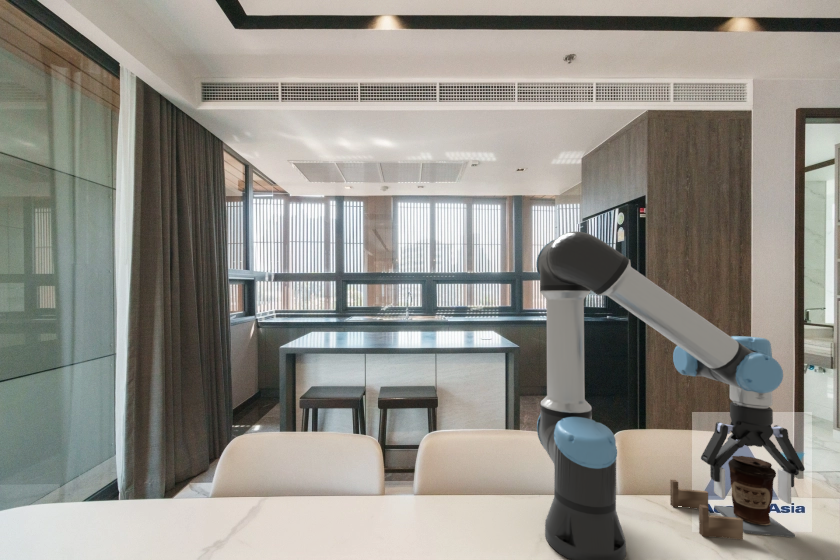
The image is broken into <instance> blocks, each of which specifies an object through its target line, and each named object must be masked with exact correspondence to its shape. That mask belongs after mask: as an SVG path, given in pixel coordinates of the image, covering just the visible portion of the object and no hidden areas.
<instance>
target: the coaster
mask: <svg viewBox="0 0 840 560" xmlns="http://www.w3.org/2000/svg"><path fill="white" fill-rule="evenodd" d="M713 507H714V509H715V510H716V511H717V512H718V513H720V514H721V516H723V517H735V518H739V517H737V516H736V515H735V514H734V508H733V506H725V505H716V504H715V505H714V506H713ZM769 519H770V525H759V524H754V523H751V522H748V521H745V520H743V519H742V520H743V534H754V535H755V534H756V535H763V536H765V535H767V536H775V537H776V536H777V537H787V538H796V534H795V533H794V532H792V531H791V530H790V529H788V528H786V527H785V526H784V525H782V524H781V523H779V522H778V521H777V520H775V519H774V518H773V517H771V516H770V518H769Z"/></svg>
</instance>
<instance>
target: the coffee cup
mask: <svg viewBox="0 0 840 560" xmlns="http://www.w3.org/2000/svg"><path fill="white" fill-rule="evenodd" d="M727 464H728V468H729V479H730V488H731V500H732V505H733V506H732V507H733V508H734V514H735V515H736V516H737V517H739V518H741V519H743V520H745V521H748V522H751V523H754V524H759V525H770V519H769V518H770V517H771V516H770V512H771V504H772V502H773V497H774V480H775V478H776V477H777V472H776V470H775V468H773V467H772V466H773V464H772V463H771V462H769V461H766V460H763V459H759V458H756V457H752V456H744V455H732V456H731V459H729V461H728V463H727Z"/></svg>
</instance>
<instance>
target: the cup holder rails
mask: <svg viewBox="0 0 840 560" xmlns="http://www.w3.org/2000/svg"><path fill="white" fill-rule="evenodd" d="M669 481H670V485H669V486H670V489H669V490H670V493H669V494H670V502H669V503H670V506H671V505H672V506H673V507H672V508H677V507H678V506H682V507H690V508H689V509H694V508H697V509H696V510H698V523H699V525H698V530H699V531H698V534H700V535H701V536H702V537H704V538H705V537H706V538H710V537H711V538H721V539H731V540H733V539H734V540H744V532H743V520H742V519H741V518H735V517H725V516H723V515H709V514H710V512H709V509H710V508H709V492H708V491H707V490H697V489H686V488H685V489H684V488H679V481H678V480H676V479H670V480H669ZM682 507H681V508H682ZM678 508H679V507H678Z"/></svg>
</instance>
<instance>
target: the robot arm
mask: <svg viewBox="0 0 840 560" xmlns="http://www.w3.org/2000/svg"><path fill="white" fill-rule="evenodd" d="M536 258H537V259H536V264H535V268H536V272H537V274H538V276H539V292H540V294H541V295H542V296H543V297H544V298H545V300H546V395H545V397H544V398H543V399H542V400H541V401H540V413H539V416H538V418H537V422H536V431H537V432H536V433H537V437H538V439H539V441H540V444H541V446H542V447H543V449H544V450H545V452H546V453H547V455H548V456H549V459H550V460H551V461H552V463H553V465H554V466H553V467H554V475H553V476H554V477H553V479H554V485H553V486H554V487H553V488H554V489H553V490H554V491H553V492H554V495H553V499H552V501H551V502H552V503H551V505H550V508H549V510H548V512H547V515H546V519H545V523H544V528H545V529H544V535H545V536H544V537H545V539H546V541H547V543H548V544H549V545H550V546H551V548H552V549H553V550H555V552H557V553H558V554H560V555H562V556H563V557H565V558H567V559H568V560H625V559H626V555H627V544H626V538H625V534H624V531H623V527H622V525H621V522H620V518H619V516H618V515H619V514H618V512H617V504H616V503H617V457H618V449H617V444H616V443H617V442H616V437H615V434H614V433H613V432H612V430H611V429H610V428H609V427H608V426H606V425H605V424H604V423H602V422H597V421H596V420H594V419H592V417H593V411H592V410H593V409H592V405H591V404H590V403H588V401H587V400H586V399H585V395H586V394H585V393H586V392H585V386H586V385H585V313H584V312H585V307H584V306H585V303H584V301H585V299H586V297H587V296H588V295H589V294H590V293H591V292H593V293H595V295H596V296H606V297H608V298H609V299H611V300H612V301H614V302H615V303H617V304H618V305H620V306H621V307H623V308H624V309H625V310H626V311H628V312H629V313H630V314H632V315H634V316H635V317H637V318H638V319H639V320H641V321H642V322H644V323H645V324H646V325H648V326H649V327H650V328H652V329H654V330H655V331H657V332H658V333H659V334H661V335H662V336H663V337H665V338H666V339H667V340H669V341H671V342H672V343H673V344H674V345H676V346H675V348H674V349H673V353H672V356H673V358H672V362H673V364H674V367H675V369H676V371H677V372H678V373H679V374H681V375H682V376H690V377H705V378H707V379H710V380H714V381H717V382H719V383H720V382H721V383H722V384H726V385H729V399H730V400H731V402H730V403H729V417H730V424H726V423H722V422H720V421H716V423H715V427H714V428H715V429H714V432H713V433H712V435H711V437H710V439H709V441H708V443H707V445H706V447H705V448H704V450H703V452H702V454H701V456H700V460H701V461H703V462H704V463H706V464H707V465H709V466H710V468H709V469H710V470H709V471H710V479H711V480H712V481H713V493H714V494H716V495H717V496H718V497H719V498H721V499H722V500H723V499H724V500H725V499H726V469H725V468H723V466H724V465H725V464H726V463H727V462H728V460H730V458H732V456H734V454H735V453H736V452H737V451H738V450H739V449H743V447H744V446H747V447H758V448H762V447H763V448H764V449H765V450H766V452H767V453H768V454H769V455H770V456H771V457H772V458H773V459H774V460H775V462H776V463H777V464H778V465H779V466H780V468H777V498H778V499H780V500H781V501H783V502H784V503H786V504H788V505H792V488H794V486H795V476H798V475H799V474H800V473H799V472H804V471H805V466H804V464H803V462H802V461H801V459H800V457H799V454H798V453H797V451H796V449H795V448H794V446H793V444H792V442H791V440H790V438H789V431H788V429H786V428H785V427H782V426H780V425H778V424H777V425H776V424H775V425H773V423H774V419H773V418H774V410H773V409H772V408H771V406H773V392H774V391H775V390H776V389H778V387H780V385H781V383H782V382H783V379H784V371H783V368H782V365H781V364H780V363H779V362H778V360H776V359H775V358H774V357H773V353H772V352H773V351H772V343H771V341H770V340H769V339H767V338H765V337H759V336H758V337H756V336H747V335H746V336H744V335H740V336H739V335H731V336H730V335H729V334H727V333H726V332H724V331H723V330H721V329H720V328H718V327H717V326H716V325H714V324H713V323H711V322H710V321H708V320H707V319H706V318H704V317H703V316H701V315H700V314H699V313H697V312H696V311H695V310H694V309H691V307H689V306H687V305H686V304H685V303H683V302H682V301H680V300H679V299H677V298H676V297H674V296H673V294H670V293H669V292H667V291H666V290H665V289H663V288H662V287H660V286H659V285H657V284H656V283H655V282H653V281H652V280H651V279H649V278H647V277H646V276H645V275H644V274H642V273H640V272H639V271H638V270H636V269H635V268H633V267H632V266H631V265H632V264H631V259H629V258H628V257H627V256H625V255H624V254H622V253H621V252H620V251H618V250H616V249H615V248H614V247H612V246H611V245H609V244H608V243H606V242H605V241H603V240H601V239H600V238H598V237H596V236H594V235H593V234H590V233H588V232H587V233H586V232H584V231H570V232H566V233H563V234H562V235H560V236H558V237H557V238H555V239H552V240H551V241H548V242H547V243H546V244H544V246H543V247H542V248H541V250H540V251H539V253H538V255H537V257H536ZM772 425H773V426H772ZM729 434H730V435H729ZM728 435H729V436H728ZM772 436H774V438H775V440H776V441H777V443H778V445H779V447H780V449H781V450H782V452H781V451H780V450H779V449H778V448H777V447H776V446H777V445H776V444H775V443H774V442H773V441H772V440H771V437H772Z"/></svg>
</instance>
